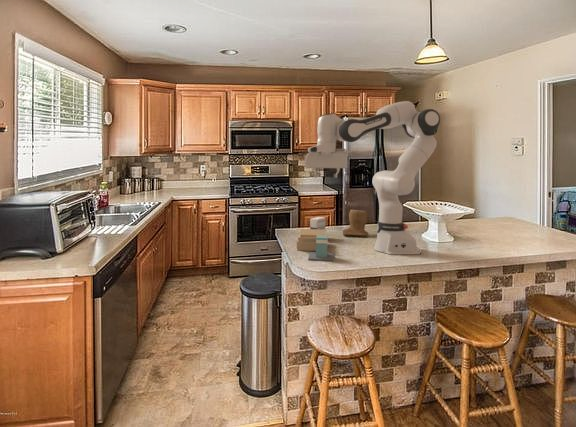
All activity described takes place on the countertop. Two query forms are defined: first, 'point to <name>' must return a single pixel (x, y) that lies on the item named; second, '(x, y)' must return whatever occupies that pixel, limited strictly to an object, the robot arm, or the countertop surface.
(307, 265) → the countertop surface
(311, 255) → the mat
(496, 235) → the countertop surface
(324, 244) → the tea box
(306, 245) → the carton
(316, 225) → the ink box
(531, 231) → the countertop surface
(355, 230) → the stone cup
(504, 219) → the countertop surface
